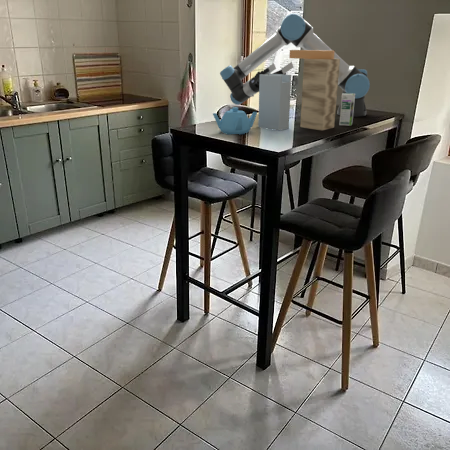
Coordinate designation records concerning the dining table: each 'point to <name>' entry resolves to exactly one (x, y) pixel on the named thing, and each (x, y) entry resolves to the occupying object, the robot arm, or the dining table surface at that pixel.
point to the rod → (312, 54)
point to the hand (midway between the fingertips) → (283, 65)
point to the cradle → (274, 101)
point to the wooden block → (319, 93)
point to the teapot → (235, 121)
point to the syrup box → (347, 109)
